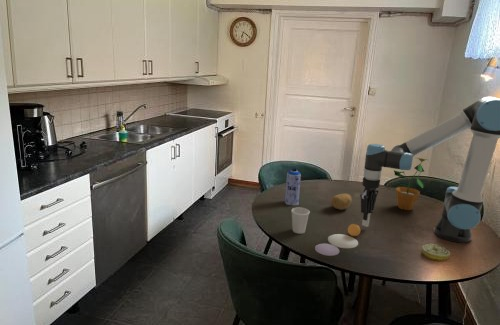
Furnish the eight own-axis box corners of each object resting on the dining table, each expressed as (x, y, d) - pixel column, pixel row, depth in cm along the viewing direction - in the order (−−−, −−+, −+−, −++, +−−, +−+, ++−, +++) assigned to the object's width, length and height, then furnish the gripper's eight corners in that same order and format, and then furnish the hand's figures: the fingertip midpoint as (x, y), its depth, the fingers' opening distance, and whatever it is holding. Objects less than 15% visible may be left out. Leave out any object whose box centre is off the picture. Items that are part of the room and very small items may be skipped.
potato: (355, 207, 201) (357, 194, 199) (341, 214, 192) (343, 200, 190) (340, 202, 208) (341, 189, 206) (325, 208, 198) (327, 194, 196)
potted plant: (430, 211, 201) (440, 158, 193) (403, 215, 194) (412, 160, 186) (406, 200, 217) (414, 150, 209) (380, 203, 210) (387, 151, 202)
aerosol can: (283, 204, 202) (285, 168, 197) (286, 199, 210) (288, 165, 204) (297, 206, 200) (300, 170, 195) (300, 201, 207) (302, 167, 202)
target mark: (363, 242, 162) (363, 241, 162) (347, 251, 153) (347, 251, 153) (338, 231, 171) (338, 231, 171) (321, 240, 162) (321, 239, 162)
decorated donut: (447, 253, 156) (449, 245, 155) (450, 265, 147) (452, 256, 146) (420, 247, 160) (422, 239, 159) (421, 259, 150) (423, 250, 149)
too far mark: (344, 250, 154) (344, 250, 154) (330, 258, 147) (330, 257, 147) (324, 241, 161) (324, 241, 161) (310, 248, 154) (310, 248, 154)
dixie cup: (310, 229, 172) (312, 209, 170) (303, 236, 165) (305, 215, 163) (294, 225, 176) (295, 205, 174) (286, 231, 169) (288, 211, 167)
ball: (356, 239, 164) (360, 236, 168) (358, 227, 163) (363, 225, 167) (344, 234, 167) (349, 232, 172) (347, 223, 166) (352, 221, 171)
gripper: (371, 173, 176) (365, 219, 182) (356, 178, 167) (350, 226, 173) (386, 177, 170) (379, 224, 177) (372, 182, 162) (365, 232, 168)
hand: (365, 225), depth 175 cm, fingers closed
